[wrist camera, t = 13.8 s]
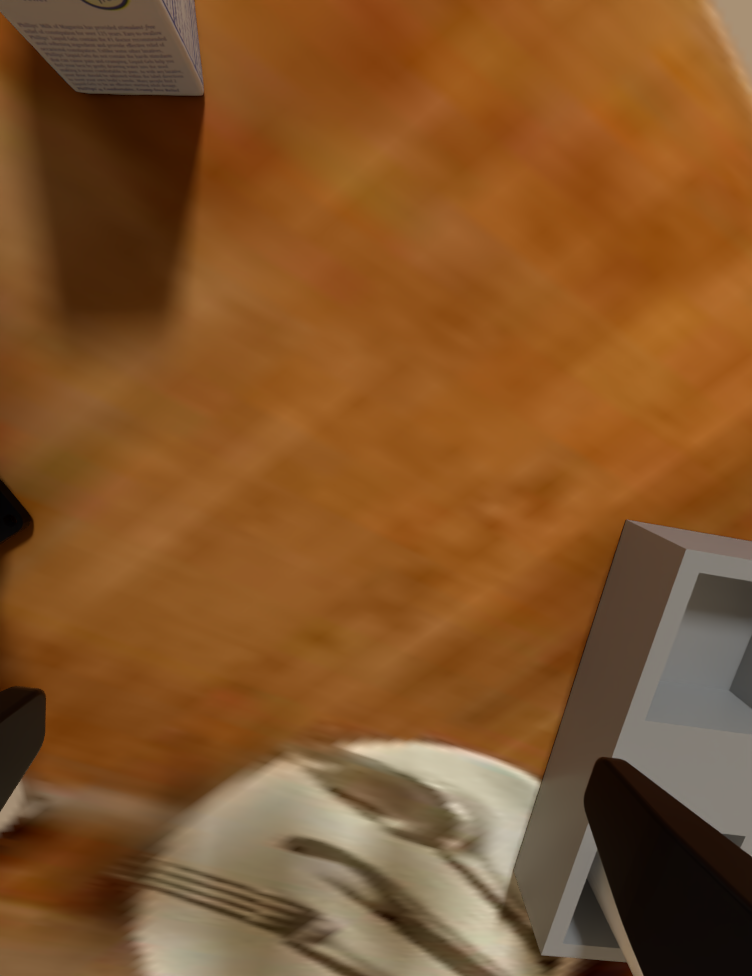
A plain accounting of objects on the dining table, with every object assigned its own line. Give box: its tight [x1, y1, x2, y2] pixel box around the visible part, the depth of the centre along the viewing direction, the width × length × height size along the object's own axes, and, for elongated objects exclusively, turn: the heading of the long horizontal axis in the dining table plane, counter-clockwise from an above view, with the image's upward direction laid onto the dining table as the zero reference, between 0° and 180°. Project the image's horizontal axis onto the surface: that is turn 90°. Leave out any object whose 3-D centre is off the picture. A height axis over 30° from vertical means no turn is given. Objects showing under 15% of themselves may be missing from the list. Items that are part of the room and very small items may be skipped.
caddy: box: [514, 520, 752, 962], centre depth 20 cm, size 8×20×4 cm, turn 169°
